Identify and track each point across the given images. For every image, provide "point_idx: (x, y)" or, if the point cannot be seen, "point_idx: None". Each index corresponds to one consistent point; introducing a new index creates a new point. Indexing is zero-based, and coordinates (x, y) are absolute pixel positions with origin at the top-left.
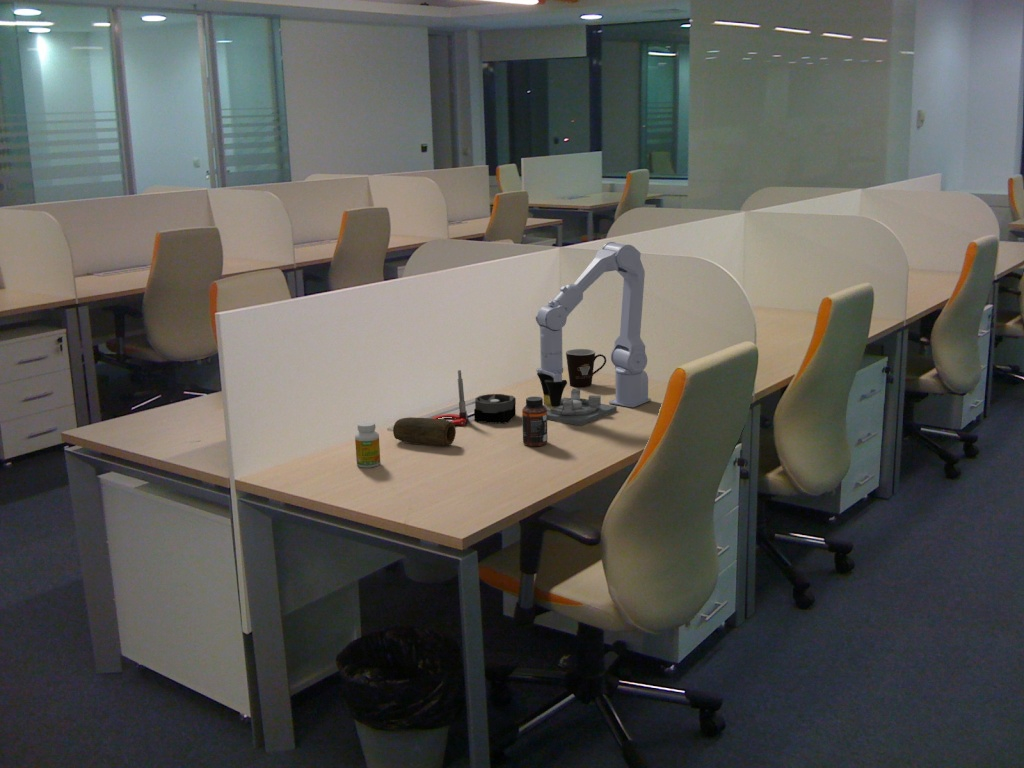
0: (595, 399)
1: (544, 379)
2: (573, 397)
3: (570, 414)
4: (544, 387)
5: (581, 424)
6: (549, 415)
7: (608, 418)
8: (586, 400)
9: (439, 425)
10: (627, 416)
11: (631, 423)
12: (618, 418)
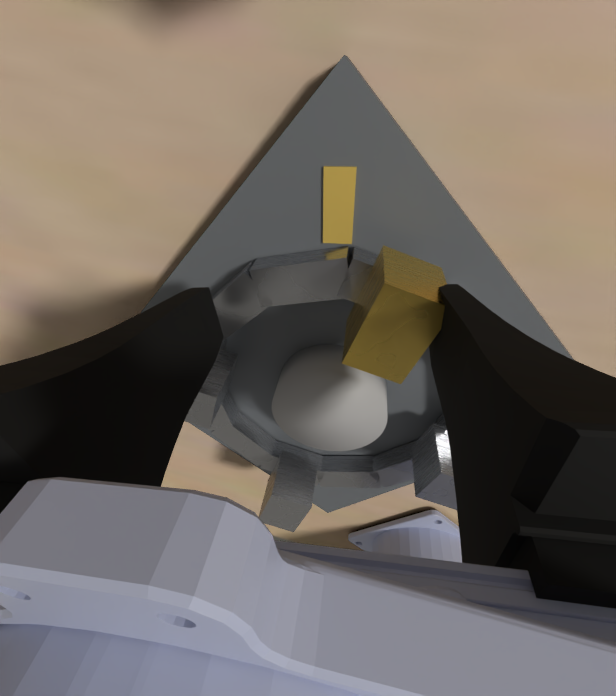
0: (265, 501)
1: (489, 426)
2: (427, 445)
3: None
4: (464, 346)
5: None
6: (200, 238)
7: (231, 453)
8: (397, 471)
9: None
10: (253, 496)
11: (171, 482)
12: (229, 474)
